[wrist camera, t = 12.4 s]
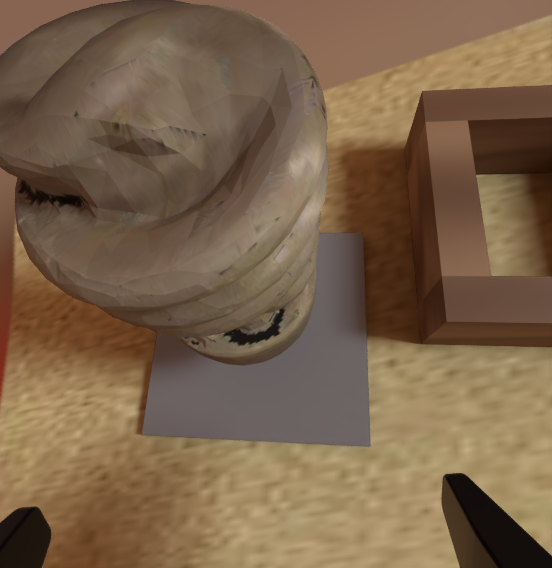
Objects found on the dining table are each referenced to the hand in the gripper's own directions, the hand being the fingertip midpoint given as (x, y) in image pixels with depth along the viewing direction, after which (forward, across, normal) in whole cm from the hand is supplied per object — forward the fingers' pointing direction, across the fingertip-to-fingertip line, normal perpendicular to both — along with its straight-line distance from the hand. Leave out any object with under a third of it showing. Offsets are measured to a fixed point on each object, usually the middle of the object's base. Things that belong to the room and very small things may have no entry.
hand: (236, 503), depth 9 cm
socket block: (+13, -13, 0) cm, 19 cm away
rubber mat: (+11, 0, +2) cm, 11 cm away
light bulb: (+10, 0, +2) cm, 11 cm away
